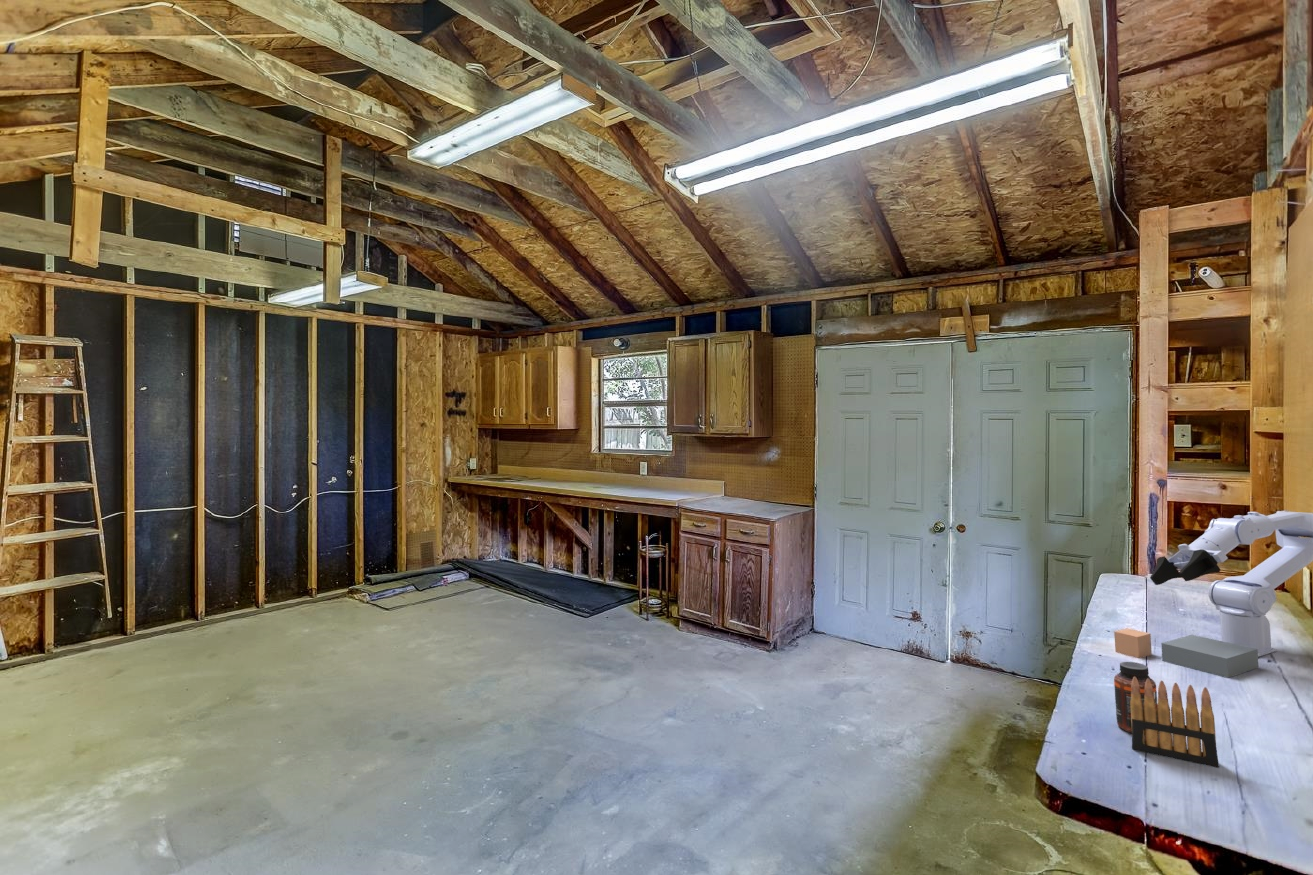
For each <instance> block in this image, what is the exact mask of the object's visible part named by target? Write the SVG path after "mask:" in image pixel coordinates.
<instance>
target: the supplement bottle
mask: <svg viewBox="0 0 1313 875" xmlns="http://www.w3.org/2000/svg"><path fill="white" fill-rule="evenodd" d="M1134 676H1135V677H1136V678H1137V680H1138V683H1139V687H1140V694H1141V700H1142V704H1143V716H1144V695H1145V692H1144V690H1145V683H1146V680H1147V679H1149V680H1150V681H1151V684H1152V687H1153V692H1154V700H1155V704H1156V711H1157V705H1158V690H1157V684H1156V682H1155V680H1153V678H1151V677H1150V675H1149V667H1148V666H1147V665H1145V664H1143V663H1140V662H1136V661H1135V662H1133V661H1122V662H1120V663H1119V673H1117V674H1115V676H1114V678H1113V683H1114V685H1113V686H1114V699H1115V701H1114V704H1115V716H1116V724H1117V725H1118V727H1119V728H1120V729H1122V730H1124V731H1126V732H1128V733H1130V734H1132V723H1131V705H1130V701H1131V684H1132V680H1133V677H1134ZM1157 720H1158V713H1157ZM1144 730H1145V729H1144ZM1158 733H1159V731H1158Z"/></svg>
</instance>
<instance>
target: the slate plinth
mask: <svg viewBox="0 0 1313 875" xmlns="http://www.w3.org/2000/svg"><path fill="white" fill-rule="evenodd" d="M1161 657H1162V658H1161V659H1162V662H1167V663H1170V664H1174V665H1179V666H1182V667H1186V668H1190V669H1193V670H1197V671H1201V672H1205V673H1208V674H1212V675H1216V676H1220V677H1224V678H1231V677H1234V676H1238V675H1240V674H1244V673H1245V672H1250V671H1252V669H1253V670H1255V668H1256V669H1258V668H1257V667H1259V665H1260V664H1259V657H1258V649H1255V648H1251V647H1246V646H1241V645H1237V644H1232V643H1228V642H1223V641H1222V640H1218V639H1213V638H1209V637H1206V636H1205V637H1204V636H1199V635H1194V634H1190V635H1187V636H1186V635H1185V636H1181V637H1179V638H1175V639H1172V640H1168V641H1164V642H1161Z"/></svg>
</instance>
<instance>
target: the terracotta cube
mask: <svg viewBox="0 0 1313 875" xmlns="http://www.w3.org/2000/svg"><path fill="white" fill-rule="evenodd" d="M1113 635H1114V648H1115V650H1114V651H1115V653H1118V654H1120V655H1125V656H1129V657H1133V658H1135V659H1141V658H1145V657H1148V656H1152V654H1153V652H1152V639H1151V638H1152V636H1151V635H1152V634H1151V633H1149V632H1144V631H1140V630H1136V629H1134V628H1133V629H1132V628H1128V627H1127V628H1123V629H1120V630H1119V629H1117V630H1115V631H1113Z"/></svg>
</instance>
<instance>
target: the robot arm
mask: <svg viewBox="0 0 1313 875" xmlns="http://www.w3.org/2000/svg"><path fill="white" fill-rule="evenodd" d="M1274 532H1275V539H1276V545H1277V546H1279V547H1281V548H1280V549H1279V550H1278V551H1276V552H1275V553H1274V554H1272V555H1271V556H1269V557H1268V558H1266V559H1265V560H1264V561H1262V562H1260V563H1259V564H1258V565H1256V566H1255V567H1254V568H1252V569H1251V570H1249V571H1248V572H1246V573H1245V574H1244V575H1235V576H1227V577H1225V578H1223V579H1217V580H1216V579H1215V581H1213V582H1211V584H1210V586H1209V587H1208V591H1207V594H1208V598H1209V600H1210V602H1211V604H1212V605H1213V606H1215V610H1216V611H1217V610H1218V611H1219V619H1220V620H1219V622H1220V636H1221V641H1223V642H1228V643H1232V644H1237V645H1241V646H1246V647H1251V648H1255V649H1258V658H1259V657H1262V656H1265V655H1267V654H1270V653H1271V654H1272V653H1274V652H1276V651H1278V649H1277V648H1275V647H1272V638H1271V636H1272V635H1271V624H1270V621H1269V619H1268V617H1267V616H1266V615H1267V614H1268V613H1269V611H1270V610H1271V608H1272V606H1273V605H1274V604H1275V603H1276V602H1277V601H1278V600H1277V593H1276V591H1275V589H1276V588H1278V587H1280V585H1282V584H1283V583H1285V582H1286V581H1288V580H1289V579H1290V578H1292V577H1293V576H1295V575H1296V574H1297V573H1298V572H1300V571H1301V570H1302V569H1304V568H1306V567H1307V566H1308V565H1310V564H1311V563H1312V562H1313V512H1300V511H1298V512H1297V511H1289V510H1281V511H1280V510H1277V511H1276V513H1273V514H1269V515H1266V514H1261V513H1260V512H1258V511H1248V512H1247V514H1246V515H1240V514H1238V515H1234V516H1233V517H1232V518H1227V517H1225V518H1224V517H1218V518H1216V519H1215V518H1212V519H1211V520H1210V522H1209V525H1208V528H1206V529H1205V530H1204V533H1203V534H1202V535H1200V536H1199V537H1198V538H1196V539H1195V540H1194V541H1193V542H1191V543H1190V544H1187V543H1182V544H1179V545H1177V548H1178V550H1179V551H1177V552H1176V553H1175V554H1174V555H1172V556H1171V557H1169V558H1167V557H1166V556H1165V555H1164V556H1159V557H1158V558H1157V559H1156V566H1155V568H1154V570H1153V572H1152V573H1151V575H1150V577H1149V578H1150V580H1151V581H1152V582H1153V584H1154V585H1155V586H1160V585H1162V584H1165V583H1166V582H1168V581H1170V580H1173V579H1179V578H1182V579H1183V580H1184V582H1190V581H1192V580H1196V579H1198V578H1200V577H1202V576H1206V575H1211V574H1216V573H1220V572H1221V568H1220V566H1218V564H1221V563H1224V562H1225V561H1226V560H1228V559H1229V557H1228V556H1227V554H1228V553H1230V552H1231V551H1233V550H1234V549H1235V548H1236V547H1238V546H1239V545H1245V546H1246V545H1249V546H1251V545H1252V544H1254V542H1255V540H1258V539H1262V538H1263V539H1264V538H1267V537H1269V536H1272V534H1273V533H1274ZM1179 570H1180V571H1179Z"/></svg>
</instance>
